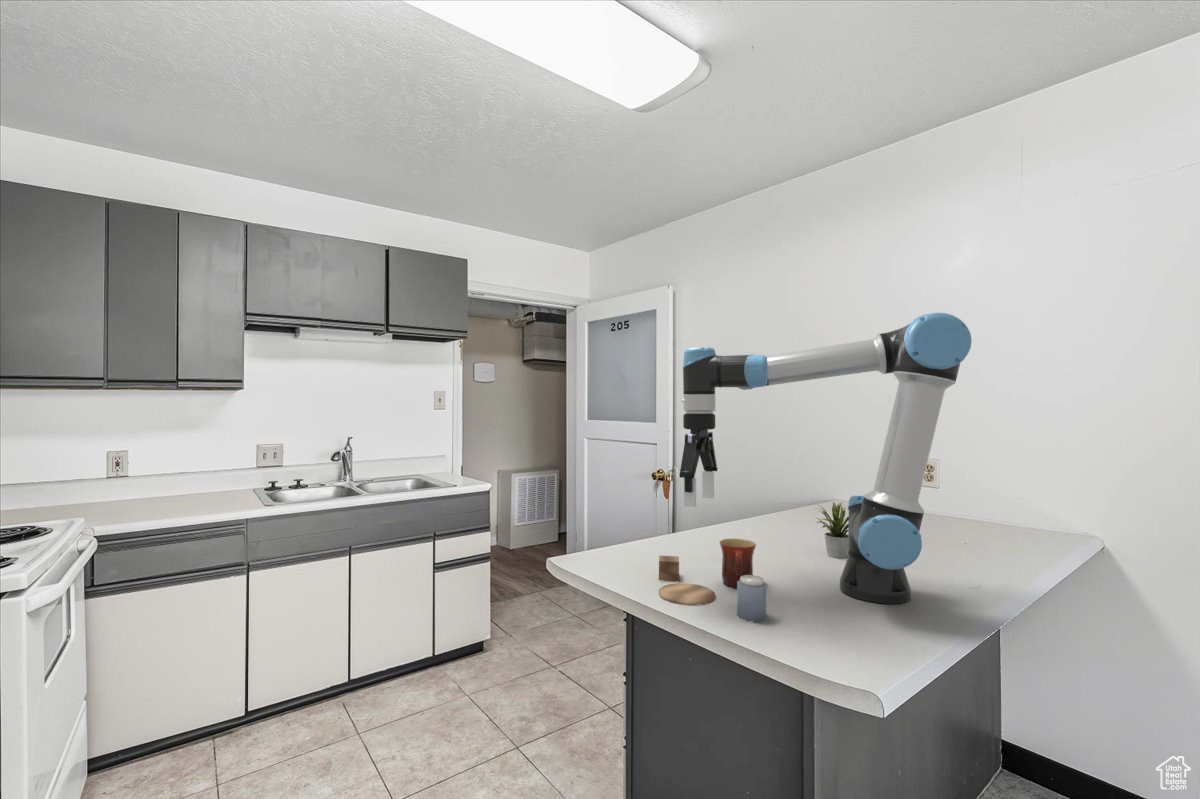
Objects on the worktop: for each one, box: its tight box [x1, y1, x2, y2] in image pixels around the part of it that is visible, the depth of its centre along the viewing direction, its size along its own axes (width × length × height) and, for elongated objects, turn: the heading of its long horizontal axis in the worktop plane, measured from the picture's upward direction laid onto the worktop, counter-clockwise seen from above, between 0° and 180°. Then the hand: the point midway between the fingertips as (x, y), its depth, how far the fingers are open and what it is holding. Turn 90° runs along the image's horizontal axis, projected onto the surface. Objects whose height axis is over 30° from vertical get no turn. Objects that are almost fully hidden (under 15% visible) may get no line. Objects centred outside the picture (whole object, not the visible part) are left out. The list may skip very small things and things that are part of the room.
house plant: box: [812, 501, 849, 560], centre depth 166 cm, size 14×14×16 cm
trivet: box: [658, 582, 716, 606], centre depth 129 cm, size 13×13×1 cm
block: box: [658, 555, 680, 582], centre depth 142 cm, size 5×5×5 cm
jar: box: [736, 574, 768, 623], centre depth 117 cm, size 6×6×8 cm
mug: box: [719, 538, 757, 589], centre depth 136 cm, size 12×9×10 cm
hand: (699, 502), depth 132 cm, fingers open, 13 cm apart
